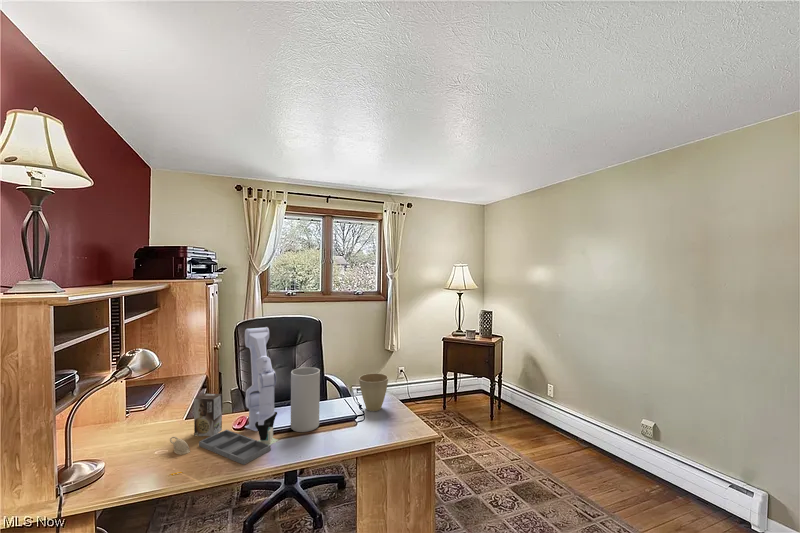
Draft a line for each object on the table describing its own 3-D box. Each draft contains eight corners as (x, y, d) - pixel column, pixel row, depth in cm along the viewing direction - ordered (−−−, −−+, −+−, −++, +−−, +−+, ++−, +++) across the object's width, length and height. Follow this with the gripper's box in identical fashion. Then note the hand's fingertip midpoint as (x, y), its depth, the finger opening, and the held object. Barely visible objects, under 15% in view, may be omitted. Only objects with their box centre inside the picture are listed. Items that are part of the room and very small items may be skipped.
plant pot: (376, 400, 197) (376, 371, 197) (393, 409, 185) (394, 378, 185) (352, 407, 187) (353, 376, 187) (369, 417, 176) (370, 384, 176)
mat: (267, 436, 155) (267, 436, 155) (279, 441, 151) (279, 440, 151) (253, 443, 148) (253, 442, 148) (265, 448, 145) (265, 447, 145)
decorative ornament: (181, 457, 138) (181, 443, 138) (167, 452, 142) (168, 438, 141) (191, 452, 141) (191, 438, 141) (178, 447, 145) (178, 434, 145)
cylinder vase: (290, 422, 169) (290, 368, 169) (318, 419, 173) (318, 366, 173) (290, 434, 157) (291, 376, 157) (320, 430, 161) (321, 374, 161)
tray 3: (255, 445, 147) (255, 439, 147) (270, 451, 143) (270, 445, 143) (228, 459, 137) (228, 453, 137) (243, 465, 132) (243, 459, 132)
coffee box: (222, 430, 160) (222, 393, 160) (213, 437, 154) (214, 399, 154) (203, 429, 161) (203, 392, 161) (193, 436, 155) (193, 398, 155)
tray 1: (226, 434, 156) (226, 429, 156) (240, 439, 152) (240, 434, 152) (198, 446, 146) (198, 441, 146) (212, 452, 141) (212, 447, 141)
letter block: (263, 439, 152) (263, 426, 152) (272, 439, 152) (273, 426, 152) (259, 444, 148) (260, 431, 148) (269, 443, 148) (270, 431, 148)
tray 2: (240, 439, 152) (240, 434, 152) (254, 445, 147) (255, 439, 147) (213, 452, 141) (213, 447, 141) (227, 459, 137) (227, 453, 137)
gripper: (262, 395, 157) (262, 427, 157) (250, 409, 142) (250, 443, 142) (279, 395, 157) (279, 427, 157) (268, 408, 143) (268, 443, 143)
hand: (266, 435), depth 150 cm, fingers open, 7 cm apart
